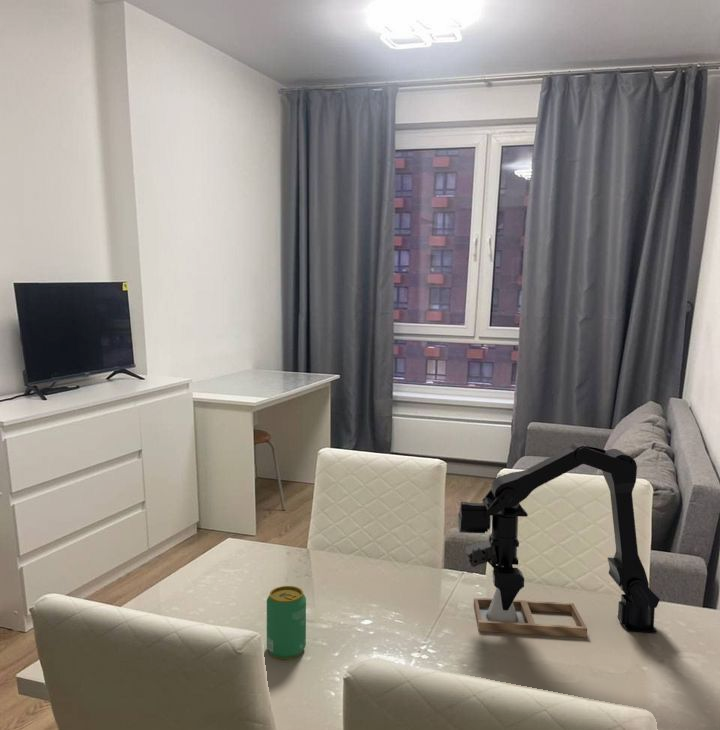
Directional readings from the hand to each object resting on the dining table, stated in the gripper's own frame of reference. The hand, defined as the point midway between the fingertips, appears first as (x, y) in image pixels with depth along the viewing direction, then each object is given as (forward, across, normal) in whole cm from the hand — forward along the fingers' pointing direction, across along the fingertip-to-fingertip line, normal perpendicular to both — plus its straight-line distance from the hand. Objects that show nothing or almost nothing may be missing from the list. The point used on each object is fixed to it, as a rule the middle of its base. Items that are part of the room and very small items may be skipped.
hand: (502, 600), depth 136 cm
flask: (+4, 0, 0) cm, 4 cm away
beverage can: (+5, +18, -46) cm, 50 cm away
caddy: (+4, 0, +6) cm, 7 cm away
